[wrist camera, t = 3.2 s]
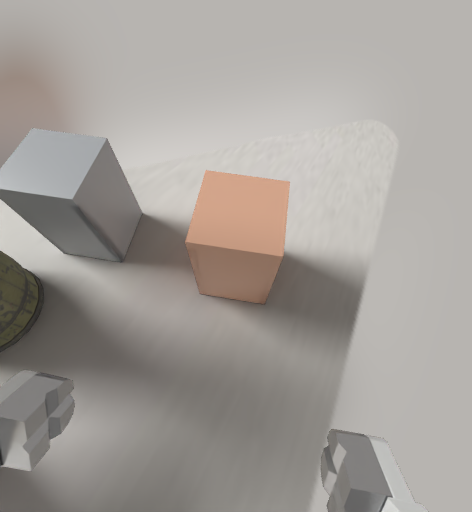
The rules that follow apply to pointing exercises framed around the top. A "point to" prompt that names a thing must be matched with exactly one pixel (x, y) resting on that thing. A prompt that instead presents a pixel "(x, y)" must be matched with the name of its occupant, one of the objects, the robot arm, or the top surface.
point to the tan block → (238, 235)
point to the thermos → (17, 300)
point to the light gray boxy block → (72, 193)
